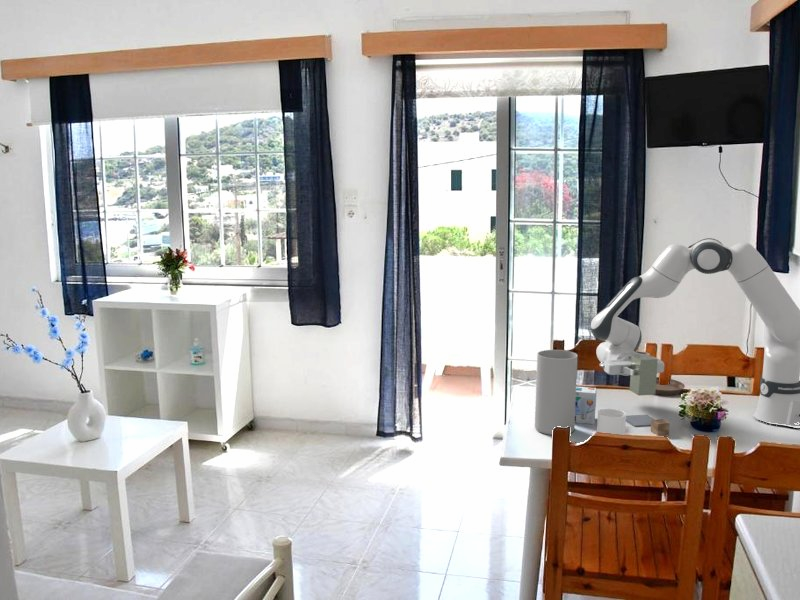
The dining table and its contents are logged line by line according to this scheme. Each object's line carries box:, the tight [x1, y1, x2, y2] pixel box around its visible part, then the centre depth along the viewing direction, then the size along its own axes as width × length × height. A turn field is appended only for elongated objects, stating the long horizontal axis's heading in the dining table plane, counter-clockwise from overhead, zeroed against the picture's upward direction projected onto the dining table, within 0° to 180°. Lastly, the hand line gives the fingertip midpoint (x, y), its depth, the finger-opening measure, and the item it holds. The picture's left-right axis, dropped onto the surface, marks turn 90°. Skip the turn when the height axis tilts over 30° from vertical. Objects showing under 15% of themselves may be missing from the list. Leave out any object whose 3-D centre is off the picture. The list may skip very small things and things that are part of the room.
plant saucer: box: [655, 376, 686, 396], centre depth 284 cm, size 18×18×3 cm
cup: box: [596, 408, 627, 436], centre depth 227 cm, size 8×12×10 cm
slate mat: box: [626, 413, 656, 428], centre depth 248 cm, size 10×10×1 cm
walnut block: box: [650, 418, 670, 436], centre depth 236 cm, size 4×4×4 cm
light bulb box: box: [575, 385, 597, 425], centre depth 248 cm, size 11×7×11 cm, turn 73°
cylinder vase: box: [534, 349, 578, 436], centre depth 237 cm, size 12×12×25 cm
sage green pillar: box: [629, 355, 659, 396], centre depth 245 cm, size 6×6×12 cm
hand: (645, 372), depth 244 cm, fingers closed on sage green pillar, 6 cm apart
